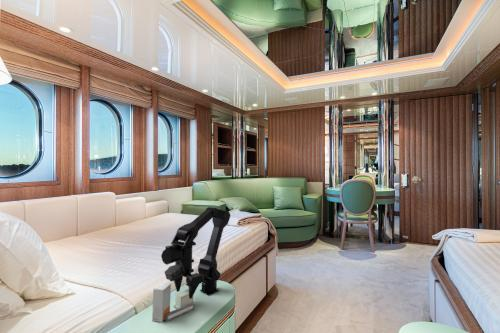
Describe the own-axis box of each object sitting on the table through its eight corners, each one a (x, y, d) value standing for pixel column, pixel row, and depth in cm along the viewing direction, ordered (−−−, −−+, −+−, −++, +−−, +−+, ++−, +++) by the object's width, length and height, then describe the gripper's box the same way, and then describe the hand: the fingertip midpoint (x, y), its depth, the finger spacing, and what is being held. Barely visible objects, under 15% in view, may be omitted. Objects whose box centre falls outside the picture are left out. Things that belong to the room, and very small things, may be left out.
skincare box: (162, 322, 96) (163, 290, 96) (151, 321, 97) (152, 289, 97) (170, 314, 102) (171, 283, 102) (160, 312, 103) (161, 282, 103)
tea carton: (175, 306, 107) (175, 294, 107) (187, 300, 112) (187, 289, 112) (180, 309, 104) (181, 297, 105) (193, 304, 109) (193, 292, 109)
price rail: (191, 308, 106) (191, 302, 106) (193, 309, 105) (193, 303, 105) (165, 320, 97) (165, 313, 97) (167, 321, 96) (167, 315, 96)
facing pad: (187, 300, 112) (187, 300, 112) (194, 304, 109) (194, 304, 109) (173, 306, 107) (173, 306, 107) (180, 311, 104) (180, 310, 104)
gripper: (156, 256, 109) (155, 294, 108) (181, 268, 96) (180, 310, 96) (179, 251, 117) (178, 285, 117) (204, 261, 105) (203, 299, 104)
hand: (184, 294), depth 108 cm, fingers open, 9 cm apart
